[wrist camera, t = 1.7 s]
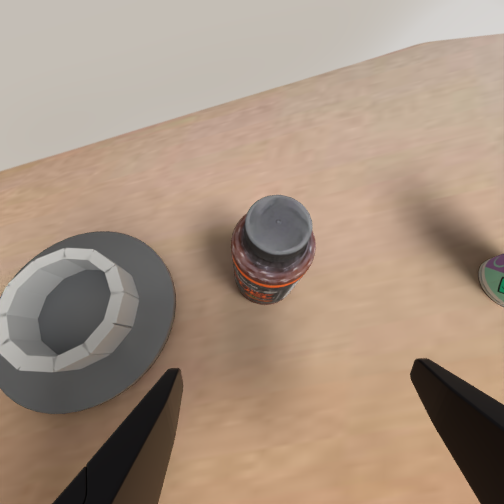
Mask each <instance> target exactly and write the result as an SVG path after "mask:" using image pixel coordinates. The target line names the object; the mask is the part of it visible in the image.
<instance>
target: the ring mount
mask: <svg viewBox="0 0 504 504" xmlns="http://www.w3.org/2000/svg"><path fill="white" fill-rule="evenodd" d="M175 308H176V294H175V288H174V283H173V280H172V277H171V274H170V272H169V270H168V268H167V266H166V265H165V263H164V262H163V260H162V259H161V258H160V257H159V256H158V255H157V254H156V253H155V252H154V250H153V249H152V248H150V247H149V246H148V245H146V244H145V243H144V242H142V241H140V240H138V239H136V238H134V237H131V236H129V235H126V234H121V233H116V232H91V233H85V234H80V235H76V236H73V237H70V238H67V239H65V240H63V241H60V242H58V243H56V244H54V245H52V246H51V247H49V248H47V249H45V250H44V251H42V252H41V253H40V254H38V255H37V256H35V257H34V258H33V259H32V260H31V261H29V262H28V263H27V264H26V265H25V266H24V267H23V268H22V269H21V270H20V271H19V272H18V273H17V274H16V275H15V277H14V278H13V279H12V280H11V281H10V282H9V283H8V286H6V288H5V290H4V292H3V293H2V295H1V297H0V388H1V389H2V391H3V392H4V393H5V394H6V395H7V396H8V397H9V398H10V399H12V400H13V401H14V402H15V403H17V404H19V405H21V406H23V407H25V408H27V409H30V410H33V411H36V412H41V413H49V414H65V413H71V412H77V411H81V410H84V409H87V408H91V407H94V406H96V405H99V404H101V403H104V402H106V401H108V400H110V399H112V398H114V397H116V396H117V395H119V394H121V393H122V392H124V391H125V390H127V389H128V388H129V387H131V386H132V385H133V384H134V383H136V382H137V381H138V380H139V379H140V378H141V377H142V376H143V375H144V374H145V373H146V372H147V371H148V369H149V368H150V367H151V366H152V365H153V363H154V362H155V361H156V359H157V358H158V356H159V354H160V353H161V351H162V350H163V348H164V346H165V344H166V342H167V340H168V337H169V334H170V332H171V329H172V325H173V321H174V317H175Z"/></svg>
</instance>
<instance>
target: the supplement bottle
mask: <svg viewBox="0 0 504 504" xmlns="http://www.w3.org/2000/svg"><path fill="white" fill-rule="evenodd" d="M315 250H316V244H315V236H314V233H313V231H312V220H311V217H310V214H309V213H308V211H307V210H306V208H305V207H304V206H303V205H302V204H301V203H300V202H298V201H297V200H295V199H293V198H291V197H287V196H283V195H272V196H267V197H264V198H262V199H260V200H258V201H256V202H255V203H254V204H253V205H252V206H251V208H250V209H249V211H248V212H247V214H246V215H244V216H243V217H242V218H241V219H240V220H239V222H238V223H237V225H236V227H235V229H234V231H233V234H232V240H231V251H232V259H233V266H234V273H235V280H236V284H237V286H238V288H239V290H240V291H241V293H242V294H243V295H244V296H245V297H246V298H247V299H249V300H250V301H252V302H255V303H258V304H264V305H268V304H274V303H277V302H279V301H280V300H282V299H284V298H285V297H286V296H287V295H288V294H289V293H290V292H291V290H292V289H293V288H294V287H295V285H296V284H297V283H298V281H299V280H300V279H301V278H302V277H303V275H304V274H305V273H306V271H307V270H308V268H309V267H310V265H311V263H312V261H313V258H314V255H315Z"/></svg>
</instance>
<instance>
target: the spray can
mask: <svg viewBox="0 0 504 504" xmlns="http://www.w3.org/2000/svg"><path fill="white" fill-rule="evenodd" d="M478 276H479V281H480V284H481V286H482V288H483V290H484V291H485V293H486V294H487V295H488V296H489V297H490V298H491V299H492V300H493V301H495V302H496V303H497V304H499V305H501V306H503V307H504V254H501V255H499V256H496V257H493V258H491V259H489V260H487V261H485V262H484V263H482V265H481V266H480V269H479V275H478Z"/></svg>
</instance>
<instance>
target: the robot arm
mask: <svg viewBox="0 0 504 504" xmlns="http://www.w3.org/2000/svg"><path fill="white" fill-rule="evenodd" d="M410 377H411V381H412V383H413V385H414V387H415V389H416V391H417V393H418V395H419V397H420V399H421V401H422V403H423V405H424V407H425V409H426V411H427V413H428V415H429V417H430V419H431V421H432V423H433V425H434V426H435V428H436V430H437V432H438V433H439V435H440V437H441V438H442V440H443V442H444V443H445V445H446V447H447V448H448V450H449V452H450V453H451V455H452V457H453V458H454V460H455V462H456V463H457V465H458V467H459V468H460V470H461V472H462V473H463V475H464V477H465V478H466V480H467V482H468V483H469V485H470V487H471V488H472V490H473V492H474V493H475V495H476V497H477V498H478V500H479V502H480V503H481V504H504V405H503V404H501V403H500V402H498V401H497V400H495V399H493V398H492V397H490V396H488V395H487V394H485V393H483V392H482V391H480V390H479V389H477V388H475V387H474V386H472V385H470V384H469V383H467V382H466V381H464V380H462V379H461V378H459V377H457V376H456V375H454V374H452V373H451V372H449V371H448V370H446V369H444V368H443V367H441V366H439V365H438V364H436V363H435V362H433V361H431V360H429V359H427V358H419V359H416V360H415V361H414V364H413V367H412V370H411V373H410ZM182 392H183V381H182V375H181V370H180V369H179V368H170V369H168V370H167V371H166V372H165V373H164V375H163V376H162V377H161V378H160V379H159V380H158V382H157V383H156V384H155V385H154V386H153V387H152V389H151V390H150V391H149V392H148V393H147V394H146V396H145V397H144V398H143V399H142V400H141V401H140V403H139V404H138V405H137V406H136V407H135V408H134V410H133V411H132V412H131V413H130V414H129V415H128V417H127V418H126V419H125V420H124V421H123V422H122V424H121V425H120V426H119V427H118V428H117V429H116V431H115V432H114V433H113V434H112V435H111V436H110V438H109V439H108V440H107V441H106V442H105V443H104V445H103V446H102V447H101V448H100V449H99V450H98V452H97V453H96V454H95V455H94V456H93V457H92V459H91V460H90V461H89V462H88V463H87V467H84V468H83V469H82V470H81V471H80V472H79V474H78V475H77V476H76V477H75V478H74V479H73V481H72V482H71V483H70V484H69V485H68V486H67V487H66V489H65V490H64V491H63V492H62V493H61V494H60V495H59V496H58V498H57V499H56V500H55V501H54V502H53V503H52V504H158V501H159V498H160V494H161V490H162V486H163V482H164V478H165V475H166V471H167V467H168V463H169V459H170V455H171V452H172V448H173V444H174V440H175V435H176V429H177V423H178V417H179V411H180V405H181V398H182Z"/></svg>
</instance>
